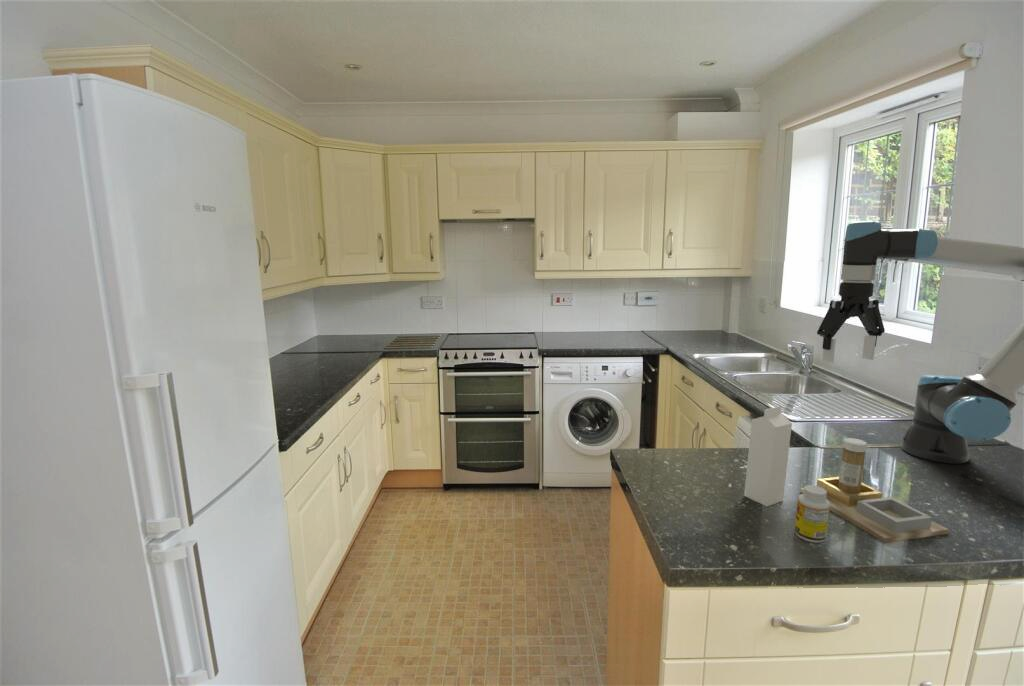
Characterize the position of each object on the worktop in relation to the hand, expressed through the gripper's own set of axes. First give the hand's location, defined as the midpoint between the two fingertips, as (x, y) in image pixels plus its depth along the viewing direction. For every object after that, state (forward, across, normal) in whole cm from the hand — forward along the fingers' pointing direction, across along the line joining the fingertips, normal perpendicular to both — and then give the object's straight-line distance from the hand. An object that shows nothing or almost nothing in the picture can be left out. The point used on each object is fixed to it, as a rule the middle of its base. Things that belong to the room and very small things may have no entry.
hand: (847, 360), depth 138 cm
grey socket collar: (+28, +20, +32) cm, 47 cm away
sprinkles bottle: (+27, +19, +21) cm, 39 cm away
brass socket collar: (+28, +19, +21) cm, 40 cm away
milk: (+28, +38, +15) cm, 49 cm away
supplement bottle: (+28, +41, +31) cm, 58 cm away
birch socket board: (+28, +19, +26) cm, 43 cm away
